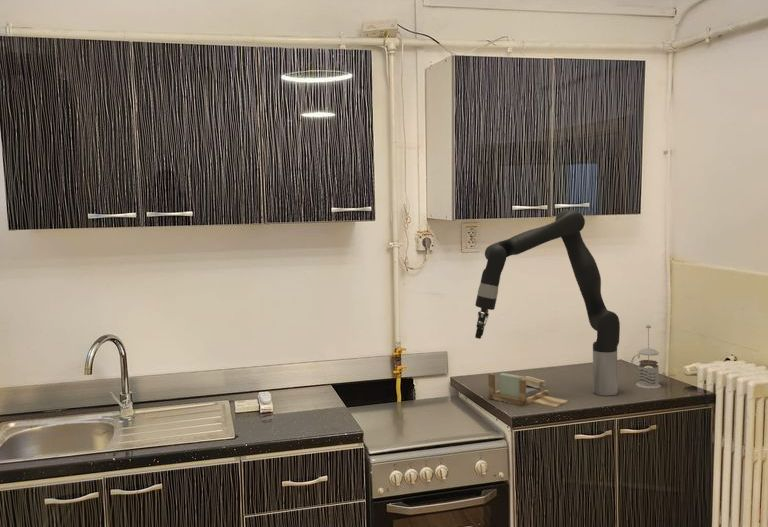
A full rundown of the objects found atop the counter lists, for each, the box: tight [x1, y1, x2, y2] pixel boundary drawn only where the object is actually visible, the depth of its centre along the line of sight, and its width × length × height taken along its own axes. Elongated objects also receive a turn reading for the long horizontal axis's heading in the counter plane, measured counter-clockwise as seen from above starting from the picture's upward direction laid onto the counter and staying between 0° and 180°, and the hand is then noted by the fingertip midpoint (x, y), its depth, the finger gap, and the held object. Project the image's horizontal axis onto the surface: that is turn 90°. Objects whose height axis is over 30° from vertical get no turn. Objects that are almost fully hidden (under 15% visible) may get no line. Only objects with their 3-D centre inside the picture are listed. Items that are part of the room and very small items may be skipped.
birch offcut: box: [522, 375, 546, 389], centre depth 280 cm, size 6×8×2 cm
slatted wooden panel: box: [532, 395, 569, 408], centre depth 268 cm, size 9×10×1 cm
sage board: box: [498, 372, 523, 399], centre depth 272 cm, size 3×9×10 cm, turn 46°
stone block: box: [526, 385, 542, 398], centre depth 280 cm, size 12×5×10 cm
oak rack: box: [487, 372, 550, 407], centre depth 276 cm, size 18×16×10 cm
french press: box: [630, 324, 662, 389], centre depth 286 cm, size 10×12×25 cm
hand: (478, 336), depth 270 cm, fingers open, 8 cm apart
